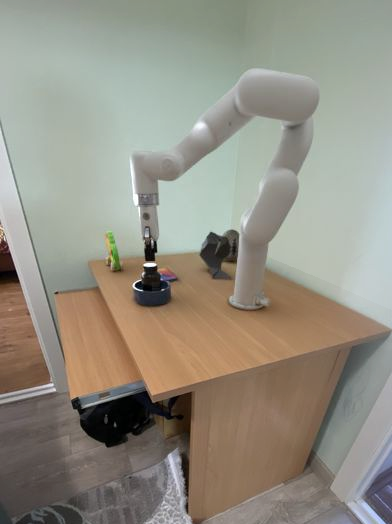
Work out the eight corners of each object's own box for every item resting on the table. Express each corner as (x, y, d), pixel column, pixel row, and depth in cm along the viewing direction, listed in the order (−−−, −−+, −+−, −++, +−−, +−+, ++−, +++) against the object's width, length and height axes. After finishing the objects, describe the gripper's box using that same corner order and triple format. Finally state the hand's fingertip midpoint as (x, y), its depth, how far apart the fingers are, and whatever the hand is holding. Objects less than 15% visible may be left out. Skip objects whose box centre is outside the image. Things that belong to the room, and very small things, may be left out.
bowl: (178, 299, 108) (178, 284, 105) (150, 310, 99) (149, 295, 96) (154, 289, 115) (153, 275, 112) (126, 299, 107) (125, 284, 104)
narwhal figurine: (229, 268, 140) (232, 227, 130) (231, 279, 127) (235, 235, 117) (199, 267, 140) (200, 226, 130) (198, 278, 127) (200, 234, 117)
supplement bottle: (162, 294, 110) (161, 261, 103) (161, 301, 104) (159, 268, 98) (144, 293, 110) (141, 261, 103) (141, 301, 104) (139, 267, 97)
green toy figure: (124, 271, 132) (120, 235, 124) (112, 272, 130) (107, 236, 122) (116, 261, 144) (112, 228, 136) (105, 262, 142) (100, 229, 134)
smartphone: (160, 282, 122) (160, 280, 121) (151, 270, 133) (151, 268, 132) (177, 280, 124) (177, 278, 123) (166, 269, 135) (166, 267, 135)
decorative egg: (215, 257, 153) (217, 227, 145) (237, 257, 155) (239, 227, 147) (221, 264, 144) (223, 232, 136) (243, 263, 146) (247, 232, 138)
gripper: (157, 203, 82) (161, 264, 92) (160, 196, 97) (164, 250, 106) (130, 203, 82) (137, 264, 91) (137, 197, 97) (143, 250, 106)
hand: (151, 256), depth 99 cm, fingers open, 9 cm apart
